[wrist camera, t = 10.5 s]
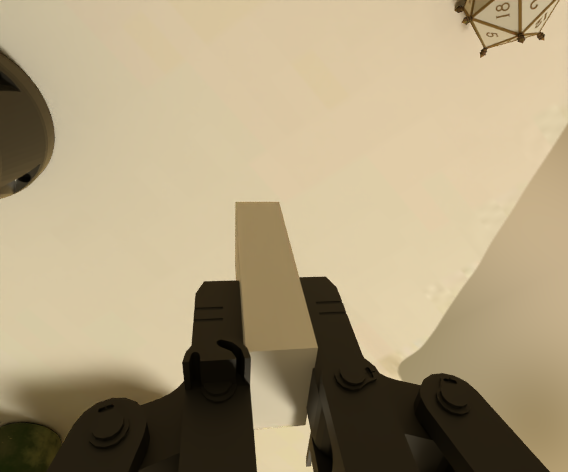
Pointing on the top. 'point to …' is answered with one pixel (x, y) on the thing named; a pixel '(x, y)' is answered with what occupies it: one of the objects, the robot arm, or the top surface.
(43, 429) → the green bottle
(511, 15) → the game die
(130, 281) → the top surface
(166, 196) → the top surface
